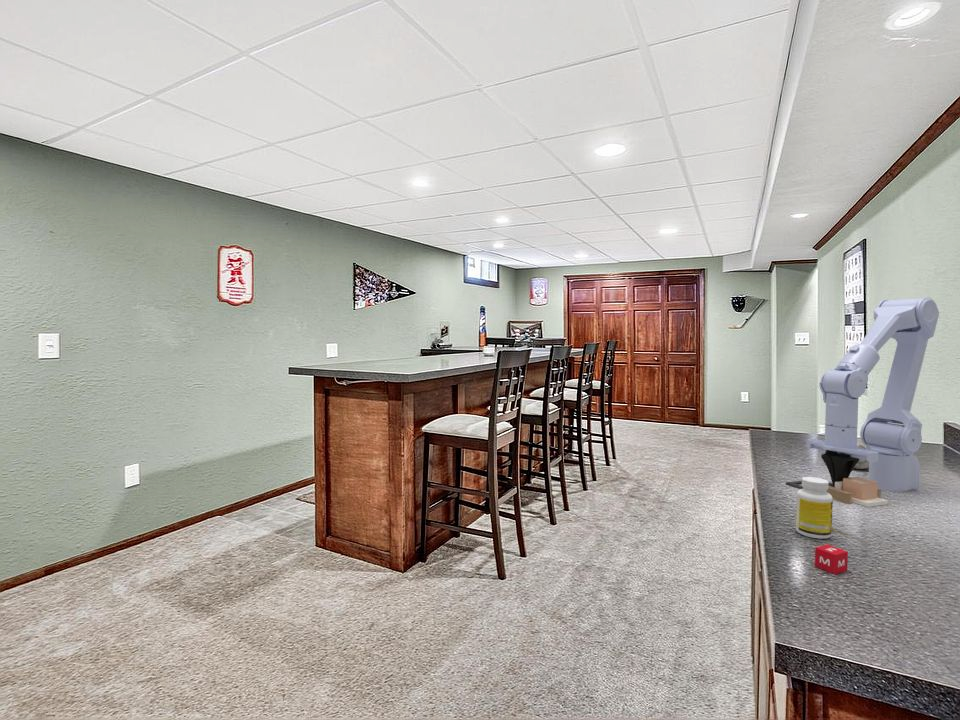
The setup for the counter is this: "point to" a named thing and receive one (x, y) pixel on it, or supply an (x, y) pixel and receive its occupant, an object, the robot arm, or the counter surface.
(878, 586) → the counter surface
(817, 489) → the supplement bottle
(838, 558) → the red letter cube
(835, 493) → the track
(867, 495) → the block
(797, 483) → the pit
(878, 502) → the cream low channel
